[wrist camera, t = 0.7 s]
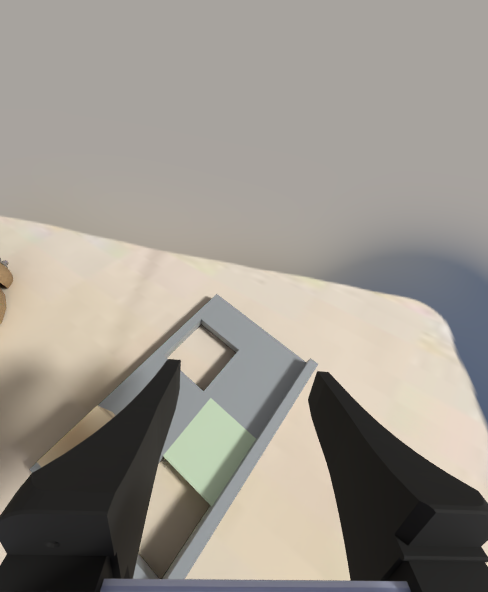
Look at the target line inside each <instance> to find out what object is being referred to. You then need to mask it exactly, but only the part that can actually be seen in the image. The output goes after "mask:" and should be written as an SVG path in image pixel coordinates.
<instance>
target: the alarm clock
mask: <svg viewBox="0 0 488 592" xmlns="http://www.w3.org/2000/svg"><path fill="white" fill-rule="evenodd" d="M6 265H8V262H7V261H6V260H5V261H1V258H0V283H1V284H3V285H4V286H6V288H8V287H9V286H10V285H11V284H12V282H13V276H12V274H11V272H10V271H9V270H8V267H7V266H6ZM5 266H6V267H5ZM5 311H6V299H5V295H4V293H3V292H2V290H1V288H0V324H1V322H2V320H3V317H4V314H5Z"/></svg>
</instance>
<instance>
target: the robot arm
mask: <svg viewBox="0 0 488 592" xmlns="http://www.w3.org/2000/svg"><path fill="white" fill-rule="evenodd" d="M180 366H181V360H173V359H168V360H167V361H166V362H165V363H164V365H163V366H162V367H161V369H160V370H159V371H158V372H157V374H156V375H155V376H154V377H153V379H152V380H151V381H150V382H149V383H148V384H147V385H146V386H145V388H144V389H143V390H142V391H141V392H140V393H139V394H138V395H137V396H136V397H135V398H134V399H133V400H132V401H131V402H130V403H129V404H128V405H127V406H126V407H125V408H124V409H123V410H121V411H120V412H119V413H118V414H117V415H116V416H115V417H113V418H112V419H111V420H110V421H109V422H107V423H106V424H105V425H104V426H102V427H101V428H100V429H99V430H97V431H96V432H95V433H93V434H92V435H91V436H89V437H88V438H86V439H85V440H84V441H82V442H81V443H79V444H78V445H76V446H75V447H73V448H72V449H71V450H69V451H68V452H66V453H64V454H63V455H61V456H60V457H58V458H56V459H55V460H53V461H51V462H50V463H48V464H46V465H45V466H43V467H41V468H40V469H38V470H36V471H34V472H33V473H32V474H31V475H30V476H29V478H28V479H27V480H26V481H25V482H24V483H23V485H22V486H21V487H20V488H19V490H18V491H17V492H16V494H15V495H14V497H13V498H12V499H11V501H10V502H9V504H8V505H7V507H6V508H5V510H4V511H3V512H2V514H1V515H0V542H1V544H2V545H3V547H4V549H5V551H6V553H7V555H6V557H5V559H4V560H3V562H2V564H1V565H0V592H488V566H487V565H486V563H485V562H488V556H487V555H486V553H485V552H484V550H483V549H482V547H481V546H482V545H483V544H484V543H485V542H486V541H487V540H488V503H487V502H486V500H485V499H484V498H483V497H482V495H481V494H480V493H479V491H477V490H475V489H474V488H472V487H470V486H469V485H467V484H465V483H463V482H462V481H460V480H458V479H457V478H455V477H453V476H451V475H450V474H448V473H446V472H445V471H443V470H442V469H440V468H439V467H437V466H436V465H434V464H433V463H431V462H429V461H428V460H427V459H425V458H424V457H422V456H421V455H419V454H418V453H416V452H415V451H414V450H412V449H411V448H410V447H408V446H407V445H405V444H404V443H403V442H402V441H400V440H399V439H398V438H396V437H395V436H394V435H393V434H391V433H390V432H389V431H388V430H387V429H385V428H384V427H383V426H382V425H381V424H380V423H378V422H377V421H376V420H375V419H374V418H373V417H372V416H371V415H370V414H369V413H368V412H367V411H365V410H364V409H363V408H362V407H361V406H360V405H359V404H358V403H357V402H356V401H355V400H354V399H353V398H352V397H351V396H350V394H349V393H348V392H347V391H346V390H345V389H344V388H343V387H342V386H341V385H340V384H339V383H338V382H337V381H336V380H335V379H334V378H333V376H332V375H331V374H330V373H329V372H319V371H317V374H316V377H315V380H314V383H313V386H312V389H311V392H310V395H309V398H308V402H309V407H310V412H311V417H312V420H313V424H314V427H315V430H316V433H317V436H318V439H319V442H320V445H321V448H322V450H323V453H324V456H325V459H326V462H327V466H328V469H329V473H330V477H331V481H332V485H333V489H334V494H335V498H336V503H337V508H338V512H339V517H340V522H341V527H342V532H343V538H344V543H345V548H346V554H347V561H348V567H349V573H350V579H351V581H323V580H205V579H133V576H134V571H135V566H136V562H137V557H138V552H139V547H140V542H141V538H142V533H143V529H144V524H145V519H146V515H147V510H148V506H149V501H150V497H151V493H152V488H153V484H154V480H155V475H156V471H157V467H158V463H159V459H160V456H161V453H162V450H163V447H164V444H165V441H166V437H167V434H168V431H169V428H170V425H171V422H172V419H173V416H174V413H175V410H176V405H177V401H178V396H179V391H180Z"/></svg>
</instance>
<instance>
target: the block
mask: <svg viewBox="0 0 488 592" xmlns="http://www.w3.org/2000/svg"><path fill="white" fill-rule="evenodd" d="M115 416H116V415H115V414H114V413H113V412H111V411H109V410H107V409H104V408H102V407H100V406H96V407H95V408H94V409H93V410H92V411H90V412H89V413H88V414H87V415H86V416H85V417H84V418H83V419H82V420H81V421H80V422H79V423H78V424H77V425H76V426H74V427H73V428H72V429H71V430H70V431H69V432H68V433H67V434H66V435H65V436H64V437H63V438H62V439H61V440H59V441H58V442H57V443H56V444H55V445H54V446H53V447H52V448H51V449H50V450H49V451H48V452H47V453H46V454H44V455H43V456H42V457H41V458H40V459H39V460H38V461H37V463H38V464H39V465H40V466H41V467H43V466H45V465H46V464H48V463H50V462H51V461H53V460H55V459H56V458H58V457H60V456H61V455H63V454H64V453H66V452H68V451H69V450H71V449H72V448H73V447H75V446H76V445H78V444H79V443H81V442H82V441H84V440H85V439H86V438H88V437H89V436H91V435H92V434H93V433H95V432H96V431H97V430H99V429H100V428H101V427H102V426H104V425H105V424H106V423H107V422H109V421H110V420H111V419H112V418H113V417H115Z"/></svg>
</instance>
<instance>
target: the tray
mask: <svg viewBox="0 0 488 592" xmlns="http://www.w3.org/2000/svg"><path fill="white" fill-rule="evenodd" d="M201 324H202V325H203V326H204V327H205V328H207V329H208V330H209V331H210V332H211V333H213V334H214V335H215V336H216V337H218V338H219V339H220V340H221V341H222V342H224V343H225V344H226V345H227V346H229V347H230V348H231V349H232V350H233V351H235V352H236V354H235V355H234V356H233V357H232V359H231V360H230V361H229V362H228V363H227V365H226V366H225V367H224V368H223V369H222V370H221V372H220V373H219V374H218V375H217V376H216V377H215V379H214V380H213V381H212V382H211V383H210V384H209V386H208V387H207V388H206V389H205V390H204V391H203V390H202V389H200V388H199V387H198V386H197V385H196V384H195V383H194V382H193V381H192V380H191V379H189V378H188V377H187V376H186V375H185V374H184V373H183V372H182V371H181V370H180V391H179V396H178V401H177V405H176V410H175V413H174V416H173V419H172V422H171V425H170V428H169V431H168V434H167V437H166V441H165V444H164V447H163V450H162V453H161V456H160V459H159V462H160V461H161V460H162V459H163V458H164V457H165V459H166V460H167V461H168V462H169V463H170V464H171V465H172V466H173V467H174V468H175V469H176V470H177V471H178V472H179V473H180V474H181V475H182V476H183V477H184V478H185V479H186V480H187V481H188V482H189V483H190V485H191V486H192V487H193V488H194V489H195V490H196V491H197V492H198V493H199V494H200V495H201V496H202V497H203V498H204V499H205V500H206V501H207V502H208V503H209V504H210V506H209V508H208V510H207V511H206V513H205V514H204V516H203V517H202V519H201V520H200V522H199V523H198V525H197V526H196V528H195V529H194V531H193V532H192V534H191V535H190V537H189V538H188V540H187V541H186V543H185V544H184V546H183V547H182V549H181V550H180V552H179V553H178V555H177V557H176V558H175V560H174V561H173V563H172V564H171V566H170V567H169V569H168V570H167V572H166V573H165V575H164V576H163V578H162V579H185V578H186V576H187V574H188V573H189V571H190V570H191V568H192V566H193V565H194V563H195V562H196V560H197V558H198V557H199V555H200V553H201V552H202V550H203V549H204V547H205V545H206V544H207V542H208V541H209V539H210V537H211V536H212V534H213V533H214V531H215V529H216V528H217V526H218V525H219V523H220V521H221V520H222V518H223V516H224V515H225V513H226V512H227V510H228V508H229V507H230V505H231V504H232V502H233V500H234V499H235V497H236V496H237V494H238V492H239V491H240V489H241V488H242V486H243V484H244V483H245V481H246V480H247V478H248V476H249V475H250V473H251V471H252V470H253V468H254V467H255V465H256V463H257V462H258V460H259V459H260V457H261V455H262V454H263V452H264V451H265V449H266V447H267V446H268V444H269V443H270V441H271V439H272V438H273V436H274V435H275V433H276V431H277V430H278V428H279V426H280V425H281V423H282V422H283V420H284V418H285V417H286V415H287V414H288V412H289V410H290V409H291V407H292V406H293V404H294V402H295V401H296V399H297V398H298V396H299V394H300V393H301V391H302V389H303V388H304V386H305V385H306V383H307V381H308V380H309V378H310V377H311V375H312V373H313V372H314V370H315V369H316V367H317V365H318V364H317V363H316V362H315V361H313V360H312V359H310V360H308V361H307V362H305V361H304V360H302V359H301V358H300V357H298V356H297V355H296V354H295V353H293V352H292V351H291V350H289V349H288V348H287V347H285V346H284V345H283V344H281V343H280V342H279V341H278V340H276V339H275V338H274V337H272V336H271V335H270V334H268V333H267V332H266V331H264V330H263V329H262V328H261V327H259V326H258V325H257V324H255V323H254V322H253V321H251V320H250V319H249V318H248V317H246V316H245V315H244V314H242V313H241V312H240V311H238V310H237V309H236V308H234V307H233V306H232V305H231V304H229V303H228V302H227V301H225V300H224V299H223V298H221V297H220V296H219V295H217V294H216V295H215V296H214V297H213V298H212V299H211V300H210V301H209V302H208V303H206V304H205V305H204V306H203V307H202V308H201V309H200V310H199V311H198V312H197V313H196V314H195V315H194V316H193V317H192V318H190V319H189V320H188V321H187V322H186V323H185V324H184V325H183V326H182V327H181V328H180V329H179V330H178V331H177V332H176V333H174V334H173V335H172V336H171V337H170V338H169V339H168V340H167V341H166V342H165V343H164V344H163V345H162V346H161V347H159V348H158V349H157V350H156V351H155V352H154V353H153V354H152V355H151V356H150V357H149V358H148V359H147V360H146V361H145V362H143V363H142V364H141V365H140V366H139V367H138V368H137V369H136V370H135V371H134V372H133V373H132V374H131V375H130V376H129V377H127V378H126V379H125V380H124V381H123V382H122V383H121V384H120V385H119V386H118V387H117V388H116V389H115V390H114V391H113V392H111V393H110V394H109V395H108V396H107V397H106V398H105V399H104V400H103V401H102V402H101V403H100V404H99V405H98V406H100V407H102V408H104V409H107V410H109V411H111V412H113V413H114V414H115V415H117V414H118V413H119V412H120V411H121V410H123V409H124V408H125V407H126V406H127V405H128V404H129V403H130V402H131V401H132V400H133V399H134V398H135V397H136V396H137V395H138V394H139V393H140V392H141V391H142V390H143V389H144V388H145V386H146V385H147V384H148V383H149V382H150V381H151V380H152V379H153V377H154V376H155V375H156V374H157V372H158V371H159V370H160V369H161V367H162V366H163V365H164V363H165V362H166V361H167V360H168V359H167V357H168V356H169V355H170V354H171V353H172V352H173V351H174V350H175V349H177V348H178V347H179V346H180V345H181V344H182V343H183V342H184V341H185V340H186V339H187V338H188V337H189V336H190V335H191V334H192V333H193V332H194V331H195V330H196V329H197V328H198V327H199V326H200V325H201ZM158 464H159V463H158ZM40 468H41V466H40V465H39V464H38V463H36V464H35V465H34V466H32V467H31V468H30V471H31V472H32V473H33V472H34V471H36V470H38V469H40ZM133 579H159V578H158V577H157V575H156V574H155V573H154V572H153V571H152V569H151V568H150V567H149V566H148V565H147V563H146V562H145V561H144V560H143V558H142V557H141V556H140V555H139V554H138V557H137V562H136V566H135V571H134V576H133Z"/></svg>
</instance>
